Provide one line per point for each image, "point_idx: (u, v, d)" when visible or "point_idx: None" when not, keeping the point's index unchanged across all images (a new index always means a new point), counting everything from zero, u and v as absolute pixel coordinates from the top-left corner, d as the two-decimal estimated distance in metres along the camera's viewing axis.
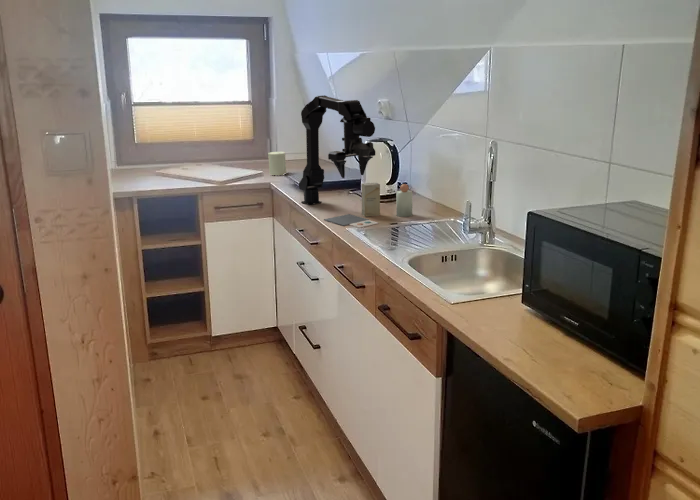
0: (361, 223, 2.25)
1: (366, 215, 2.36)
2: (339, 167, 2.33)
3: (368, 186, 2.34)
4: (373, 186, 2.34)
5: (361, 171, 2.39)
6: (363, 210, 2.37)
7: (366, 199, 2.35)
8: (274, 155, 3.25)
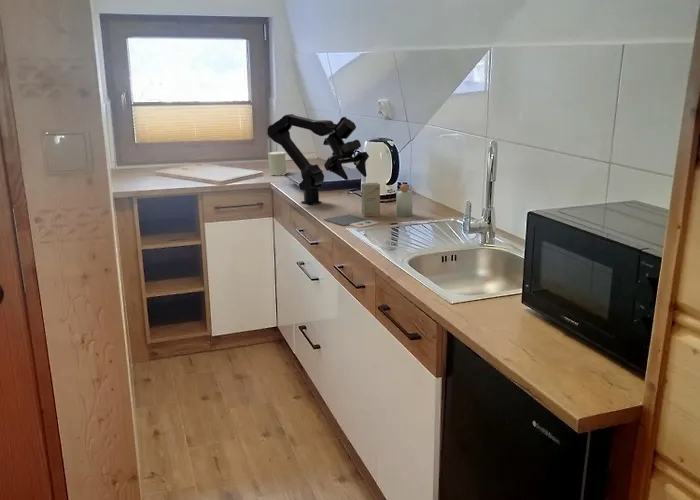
0: (361, 223, 2.25)
1: (366, 215, 2.36)
2: (339, 172, 2.40)
3: (368, 186, 2.34)
4: (373, 186, 2.34)
5: (363, 173, 2.45)
6: (363, 210, 2.37)
7: (366, 199, 2.35)
8: (274, 155, 3.25)
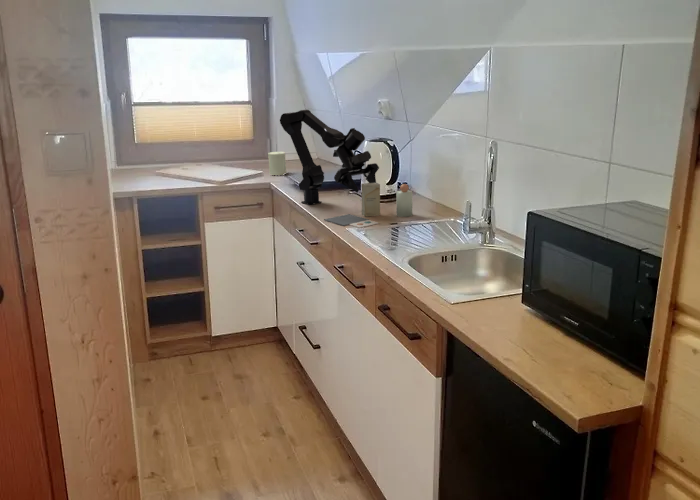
0: (361, 223, 2.25)
1: (366, 215, 2.36)
2: (349, 184, 2.37)
3: (368, 186, 2.34)
4: (373, 186, 2.34)
5: None
6: (363, 210, 2.37)
7: (366, 199, 2.35)
8: (274, 155, 3.25)
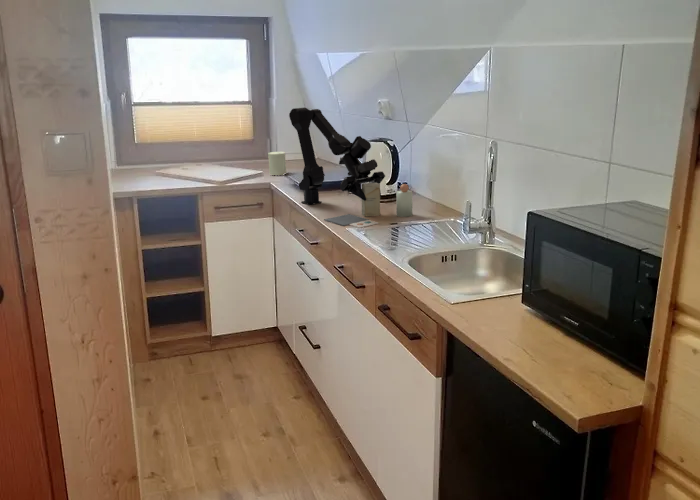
0: (361, 223, 2.25)
1: (366, 215, 2.36)
2: (357, 192, 2.35)
3: (368, 186, 2.34)
4: (373, 186, 2.34)
5: None
6: (363, 210, 2.37)
7: (366, 199, 2.35)
8: (274, 155, 3.25)
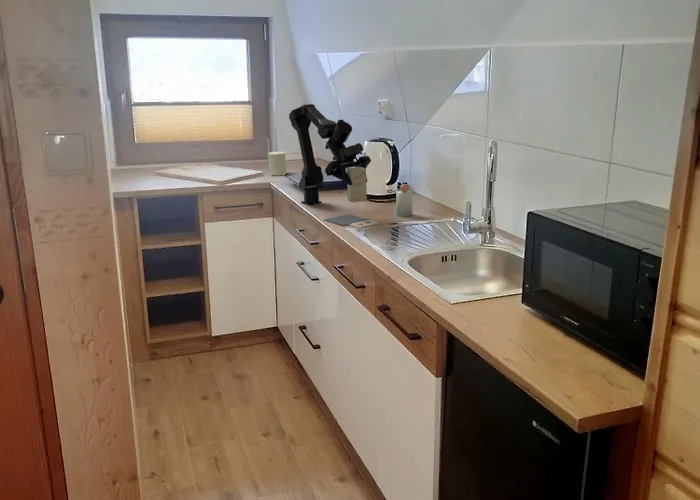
0: (361, 223, 2.25)
1: (352, 201, 2.31)
2: (343, 177, 2.29)
3: (354, 171, 2.28)
4: (359, 171, 2.28)
5: None
6: (350, 196, 2.31)
7: (352, 184, 2.29)
8: (274, 155, 3.25)
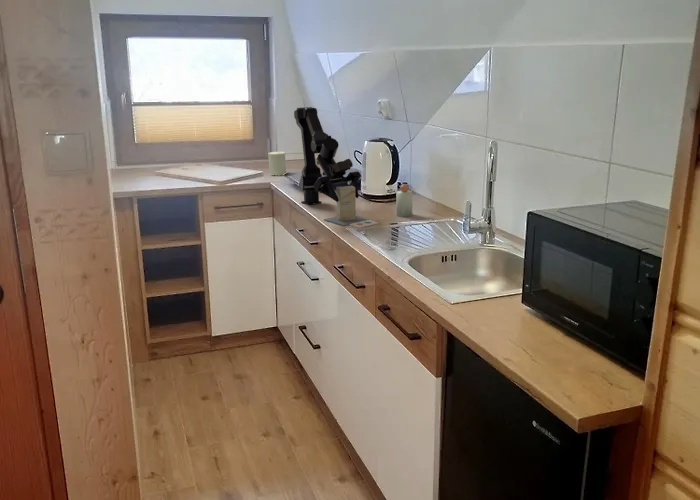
0: (361, 223, 2.25)
1: (341, 219, 2.29)
2: (329, 193, 2.27)
3: (343, 189, 2.27)
4: (348, 189, 2.27)
5: (355, 194, 2.32)
6: (339, 214, 2.30)
7: (341, 203, 2.28)
8: (274, 155, 3.25)
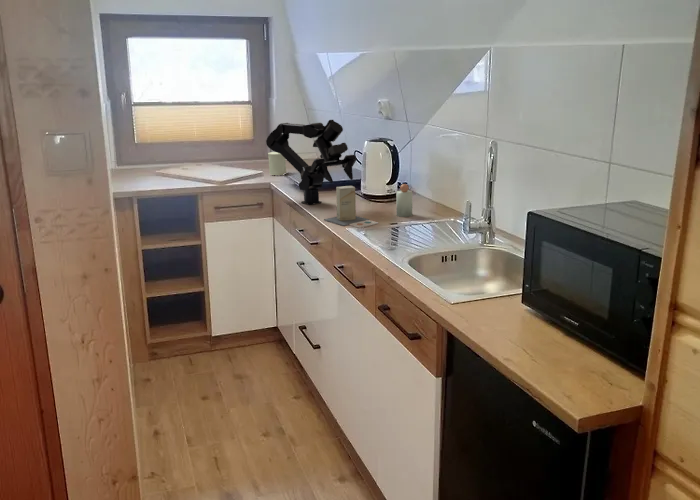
0: (361, 223, 2.25)
1: (341, 219, 2.29)
2: (324, 174, 2.42)
3: (343, 189, 2.27)
4: (348, 189, 2.27)
5: (350, 176, 2.46)
6: (339, 214, 2.30)
7: (341, 203, 2.28)
8: (274, 155, 3.25)
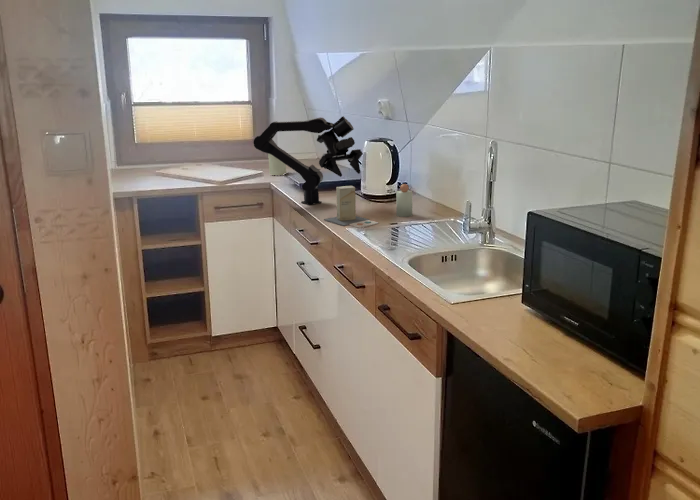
0: (361, 223, 2.25)
1: (341, 219, 2.29)
2: (333, 169, 2.46)
3: (343, 189, 2.27)
4: (348, 189, 2.27)
5: (357, 170, 2.51)
6: (339, 214, 2.30)
7: (341, 203, 2.28)
8: None
